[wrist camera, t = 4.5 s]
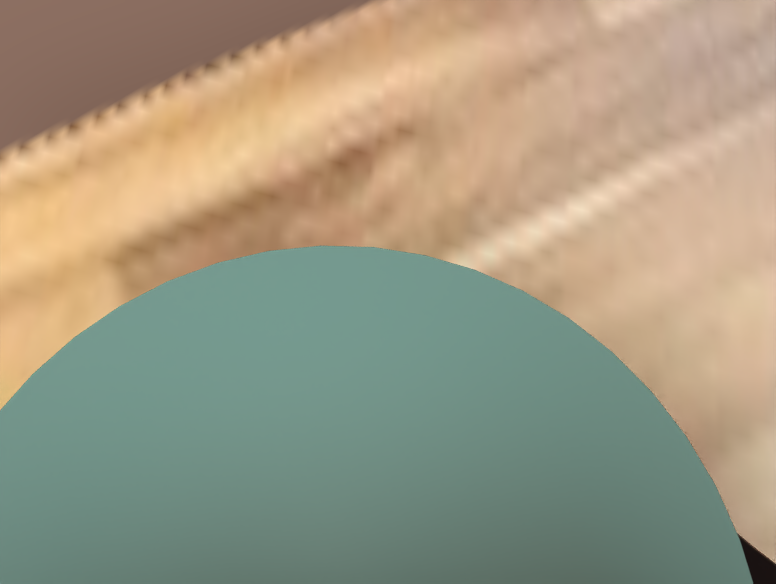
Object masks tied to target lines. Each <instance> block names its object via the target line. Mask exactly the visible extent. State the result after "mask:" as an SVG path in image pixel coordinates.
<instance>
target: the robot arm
mask: <svg viewBox="0 0 776 584" xmlns="http://www.w3.org/2000/svg"><path fill="white" fill-rule="evenodd" d="M737 535H738V537H739V539H740V542H741V545H742V549H743V552H744V555H745V558H746V562H747V565H748V568H749V571H750V574H751V578H752V581H753V584H776V564H775V563H774V562H773V561H771V560H770V559H769V558H767V557H766V556H765V555H764V554H762V553H761V552H760V551H758V550H757V549H756V548H755V547H753V546H752V545H751V544H750V543H749V542H747V541H746V540H745V539H744V538H742V537H741V536H740V535H739V534H738V533H737Z"/></svg>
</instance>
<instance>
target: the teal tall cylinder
mask: <svg viewBox="0 0 776 584" xmlns="http://www.w3.org/2000/svg"><path fill="white" fill-rule="evenodd" d="M0 584H753V581H752V578H751V574H750V571H749V568H748V565H747V562H746V558H745V555H744V552H743V549H742V545H741V542H740V539H739V537H738V535H737V532H736V530H735V528H734V526H733V523H732V521H731V519H730V517H729V514H728V512H727V510H726V508H725V505H724V503H723V501H722V499H721V496H720V494H719V492H718V490H717V488H716V485H715V484H714V482H713V480H712V479H711V477H710V475H709V474H708V472H707V470H706V469H705V467H704V465H703V464H702V462H701V460H700V459H699V457H698V455H697V454H696V452H695V450H694V449H693V447H692V445H691V444H690V442H689V440H688V439H687V437H686V435H685V434H684V433H683V431H682V430H681V429H680V428H679V426H678V425H677V424H676V422H675V421H674V420H673V419H672V417H671V416H670V415H669V413H668V412H667V411H666V410H665V408H664V407H663V406H662V405H661V403H660V402H659V401H658V399H657V398H656V397H655V396H654V394H653V393H652V392H651V391H650V390H649V389H648V388H647V387H646V386H645V384H644V383H643V382H642V381H641V380H640V379H639V378H638V377H637V376H636V375H635V374H634V373H633V372H632V371H631V370H630V369H629V368H628V367H627V366H626V365H625V364H624V363H623V362H622V361H621V360H620V359H619V358H618V357H617V356H616V355H615V354H614V353H613V352H612V351H610V350H609V349H608V348H606V347H605V346H604V345H603V344H601V343H600V342H599V341H597V340H596V339H595V338H594V337H592V336H591V335H590V334H588V333H587V332H586V331H585V330H583V329H582V328H581V327H580V326H578V325H577V324H576V323H574V322H573V321H572V320H571V319H569V318H568V317H566V316H564V315H563V314H561V313H559V312H558V311H556V310H554V309H553V308H551V307H549V306H548V305H546V304H544V303H542V302H541V301H539V300H537V299H536V298H534V297H532V296H531V295H529V294H527V293H526V292H524V291H522V290H520V289H517V288H515V287H513V286H511V285H508V284H506V283H504V282H501V281H499V280H497V279H495V278H492V277H490V276H488V275H485V274H483V273H481V272H478V271H476V270H473V269H470V268H467V267H463V266H460V265H456V264H453V263H449V262H446V261H443V260H439V259H436V258H432V257H429V256H425V255H420V254H413V253H407V252H401V251H394V250H388V249H382V248H375V247H349V246H314V247H304V248H294V249H284V250H274V251H267V252H263V253H258V254H254V255H250V256H245V257H241V258H237V259H232V260H228V261H224V262H219V263H216V264H213V265H211V266H208V267H205V268H203V269H200V270H197V271H194V272H192V273H189V274H186V275H184V276H181V277H178V278H175V279H173V280H170V281H167V282H166V283H164V284H162V285H160V286H158V287H156V288H154V289H152V290H150V291H148V292H146V293H144V294H142V295H140V296H139V297H137V298H135V299H133V300H131V301H129V302H127V303H125V304H123V305H121V306H119V307H118V308H116V309H115V310H114V311H112V312H111V313H109V314H108V315H106V316H105V317H103V318H102V319H100V320H99V321H98V322H96V323H95V324H93V325H92V326H90V327H89V328H87V329H86V330H84V331H83V332H81V333H80V334H79V335H77V336H76V337H74V338H73V339H72V340H71V341H70V342H69V343H67V344H66V345H65V346H64V347H63V348H62V349H61V350H59V351H58V352H57V353H56V354H55V355H54V356H53V357H52V358H50V359H49V360H48V361H47V362H46V363H45V364H44V365H42V366H41V367H40V368H39V369H38V370H37V371H36V372H35V373H33V374H32V375H31V377H30V378H29V379H28V380H27V381H26V382H25V383H24V384H23V385H22V387H21V388H20V389H19V390H18V391H17V392H16V393H15V394H14V396H13V397H12V398H11V399H10V400H9V401H8V402H7V403H6V405H5V406H4V407H3V408H2V409H1V410H0Z"/></svg>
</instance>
